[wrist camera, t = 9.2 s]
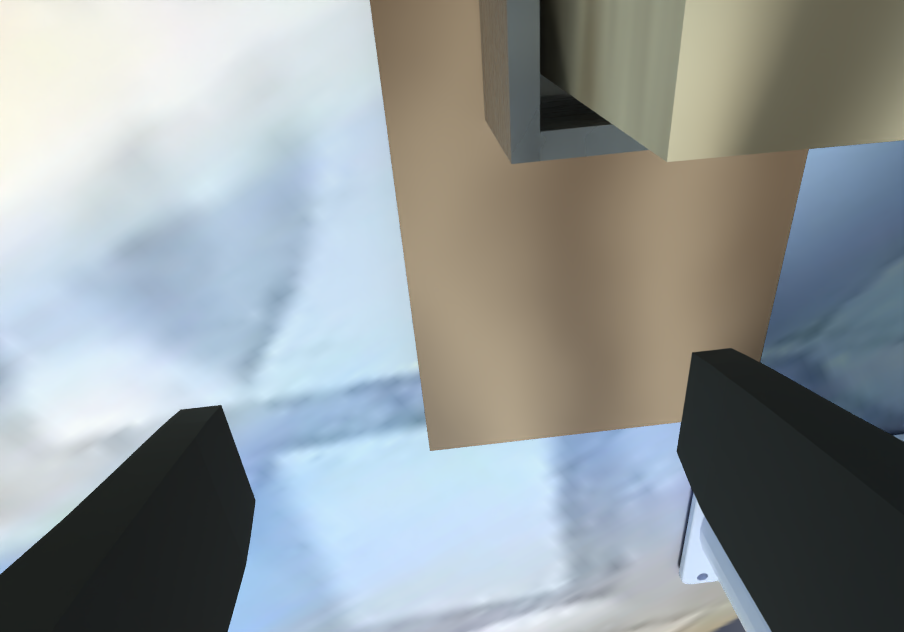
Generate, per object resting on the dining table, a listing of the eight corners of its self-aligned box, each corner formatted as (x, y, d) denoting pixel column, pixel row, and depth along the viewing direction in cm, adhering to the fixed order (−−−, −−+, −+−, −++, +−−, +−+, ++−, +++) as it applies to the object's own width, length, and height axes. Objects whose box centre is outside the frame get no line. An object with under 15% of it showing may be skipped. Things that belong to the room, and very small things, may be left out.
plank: (909, -466, 12) (959, -508, 11) (732, 394, 23) (748, 414, 22) (316, -421, 12) (308, -460, 10) (428, 429, 23) (430, 450, 22)
